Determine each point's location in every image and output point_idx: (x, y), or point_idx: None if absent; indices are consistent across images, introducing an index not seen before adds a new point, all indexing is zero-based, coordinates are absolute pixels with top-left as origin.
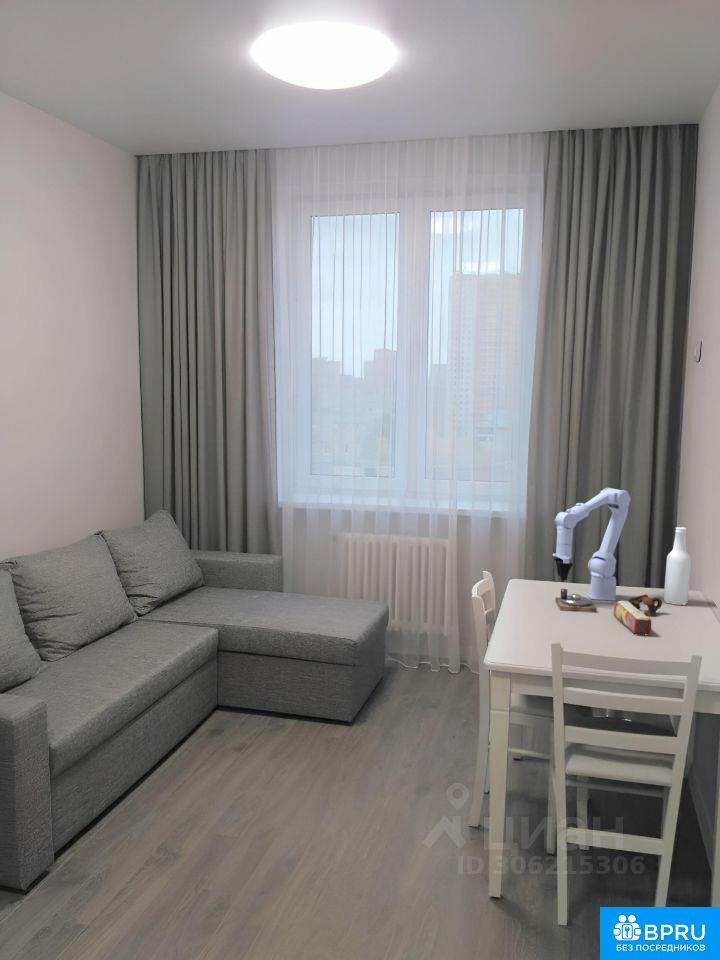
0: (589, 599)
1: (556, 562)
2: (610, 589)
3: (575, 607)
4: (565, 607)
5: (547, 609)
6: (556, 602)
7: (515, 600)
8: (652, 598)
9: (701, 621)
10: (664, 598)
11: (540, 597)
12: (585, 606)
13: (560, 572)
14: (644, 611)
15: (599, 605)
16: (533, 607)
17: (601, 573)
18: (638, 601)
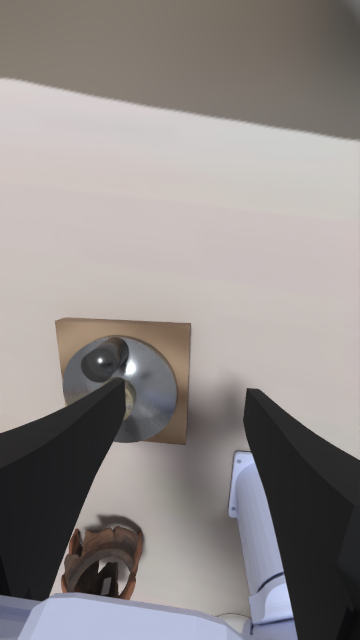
0: (128, 441)
1: (307, 467)
2: (245, 547)
3: (61, 371)
4: (59, 337)
5: (61, 270)
6: (163, 322)
7: (168, 136)
8: None
9: None
10: (237, 630)
11: (243, 270)
12: None
13: (66, 407)
14: (69, 544)
15: (164, 454)
16: (72, 215)
17: (263, 633)
18: (65, 571)
